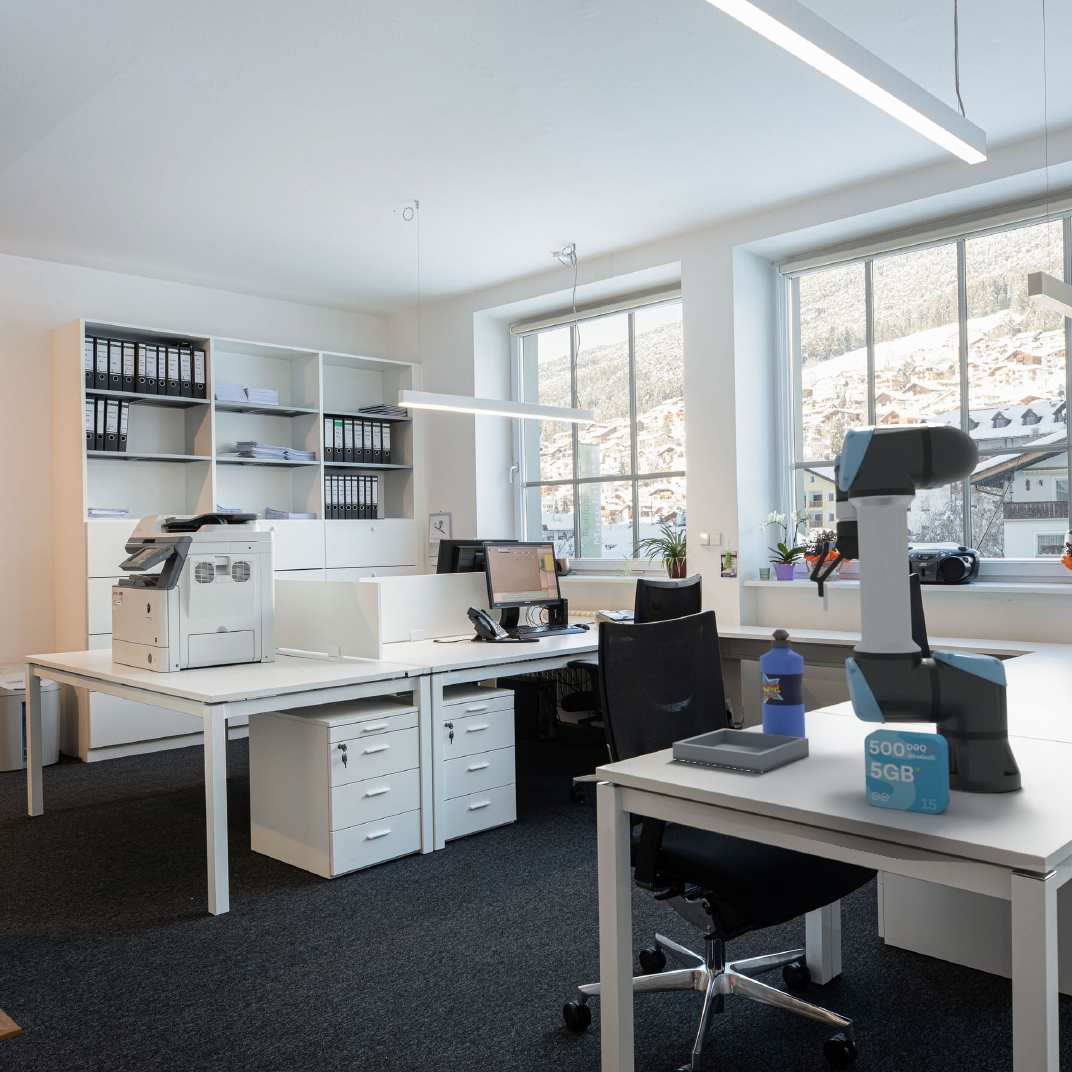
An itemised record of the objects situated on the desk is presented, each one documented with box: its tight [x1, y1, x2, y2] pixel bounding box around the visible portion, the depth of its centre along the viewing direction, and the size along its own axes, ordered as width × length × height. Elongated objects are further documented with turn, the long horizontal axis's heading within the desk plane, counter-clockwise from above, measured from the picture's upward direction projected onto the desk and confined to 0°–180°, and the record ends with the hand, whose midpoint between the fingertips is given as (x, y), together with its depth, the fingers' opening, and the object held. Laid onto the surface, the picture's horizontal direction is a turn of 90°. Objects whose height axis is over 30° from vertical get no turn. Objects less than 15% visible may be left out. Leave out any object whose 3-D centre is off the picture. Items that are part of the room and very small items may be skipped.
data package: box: [863, 728, 951, 815], centre depth 151 cm, size 12×4×12 cm, turn 54°
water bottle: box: [759, 629, 806, 738], centre depth 204 cm, size 9×9×25 cm
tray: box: [672, 727, 810, 774], centre depth 190 cm, size 20×20×4 cm
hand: (855, 611), depth 216 cm, fingers open, 13 cm apart
